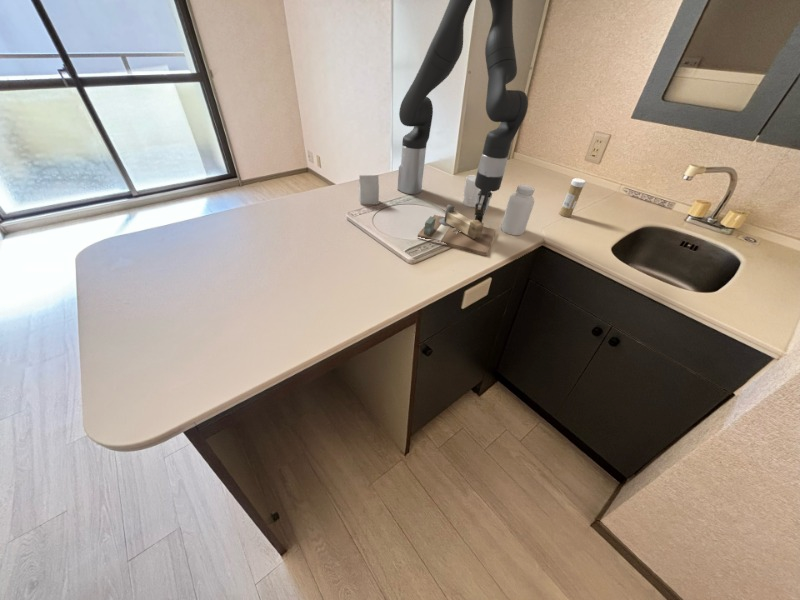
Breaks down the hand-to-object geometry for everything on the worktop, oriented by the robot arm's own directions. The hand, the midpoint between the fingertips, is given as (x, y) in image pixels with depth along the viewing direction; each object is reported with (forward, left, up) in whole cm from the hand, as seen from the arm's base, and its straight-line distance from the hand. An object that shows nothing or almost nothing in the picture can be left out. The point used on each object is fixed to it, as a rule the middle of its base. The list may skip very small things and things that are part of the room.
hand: (477, 225), depth 105 cm
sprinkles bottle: (+28, +35, -4) cm, 45 cm away
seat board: (-5, -3, -4) cm, 7 cm away
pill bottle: (+11, +10, -4) cm, 15 cm away
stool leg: (-5, -1, -2) cm, 5 cm away
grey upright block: (-42, +5, -4) cm, 43 cm away
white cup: (-7, +25, -4) cm, 27 cm away
